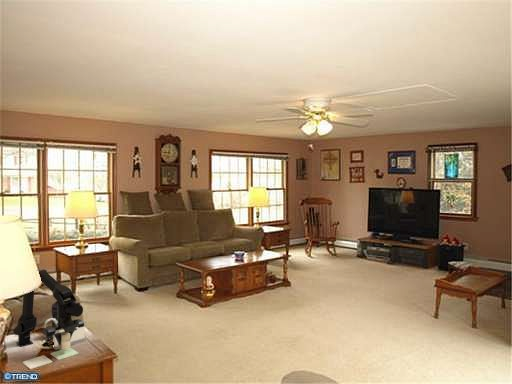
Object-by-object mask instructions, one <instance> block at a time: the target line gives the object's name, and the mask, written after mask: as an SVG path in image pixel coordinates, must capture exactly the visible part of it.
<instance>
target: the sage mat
mask: <svg viewBox="0 0 512 384" xmlns="http://www.w3.org/2000/svg"><path fill="white" fill-rule="evenodd" d="M49 354H50V355H51V356H52V357H54V358H55V359H57V360H58V361H61V360H64V359H65V358H69V357H72V356H76V355H79V351H76V350H74V349H73V348H71V346H70V347H69V348H66V349H63V350H62V349H58V350H57V351H53V352H50V353H49Z"/></svg>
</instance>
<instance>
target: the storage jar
mask: <svg viewBox="0 0 512 384" xmlns="http://www.w3.org/2000/svg"><path fill="white" fill-rule="evenodd" d="M57 315H58V305H56V304H54V303H52V304H51V316H52V317H51V318H53V319H54V318H55V319H56V320H57V321H58V318H57ZM51 326H52V327H53V328H55V327H57V326H56V325H55V323H54V322H53V320H51Z"/></svg>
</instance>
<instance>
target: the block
mask: <svg viewBox="0 0 512 384" xmlns="http://www.w3.org/2000/svg"><path fill="white" fill-rule="evenodd" d="M60 333H61V335H60V338H61V345H59V344H58V347H59V348H60V350H63V349H66V348H69V347H70V348H71V345H70V333H69V332H68V333H66V332H65V331H64V332H60Z"/></svg>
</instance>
